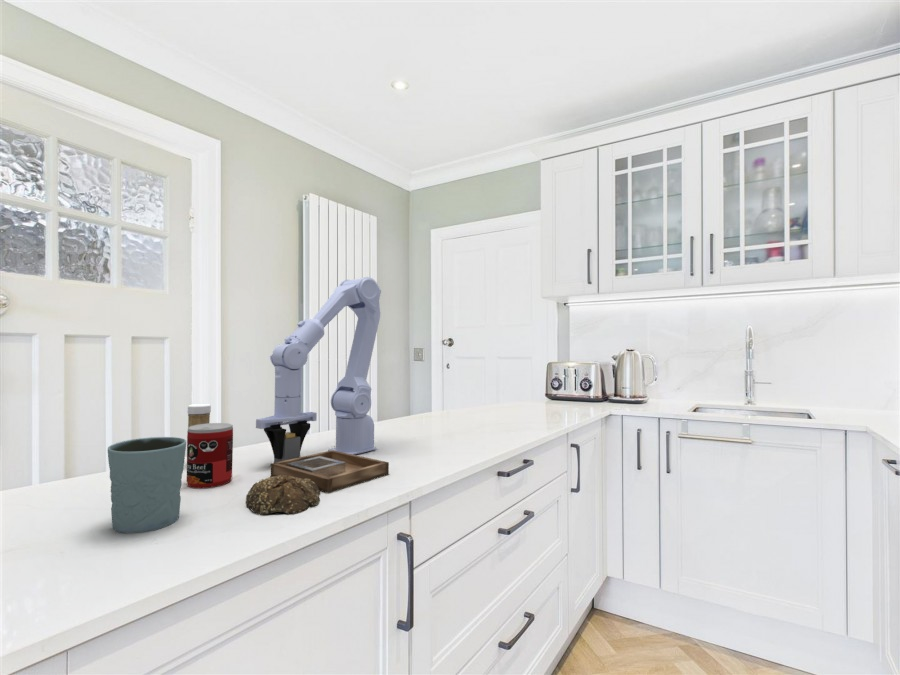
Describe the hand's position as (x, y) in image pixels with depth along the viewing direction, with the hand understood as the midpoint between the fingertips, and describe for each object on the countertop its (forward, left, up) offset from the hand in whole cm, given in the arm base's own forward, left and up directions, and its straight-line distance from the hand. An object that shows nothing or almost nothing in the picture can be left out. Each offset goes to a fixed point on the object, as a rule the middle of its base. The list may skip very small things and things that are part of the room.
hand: (287, 456), depth 107 cm
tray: (0, +15, -2) cm, 15 cm away
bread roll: (+16, +22, -2) cm, 27 cm away
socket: (+2, +13, -2) cm, 13 cm away
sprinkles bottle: (+13, -14, -2) cm, 19 cm away
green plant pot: (+34, +14, -2) cm, 37 cm away
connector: (0, 0, -2) cm, 2 cm away
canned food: (+18, +1, -2) cm, 18 cm away
